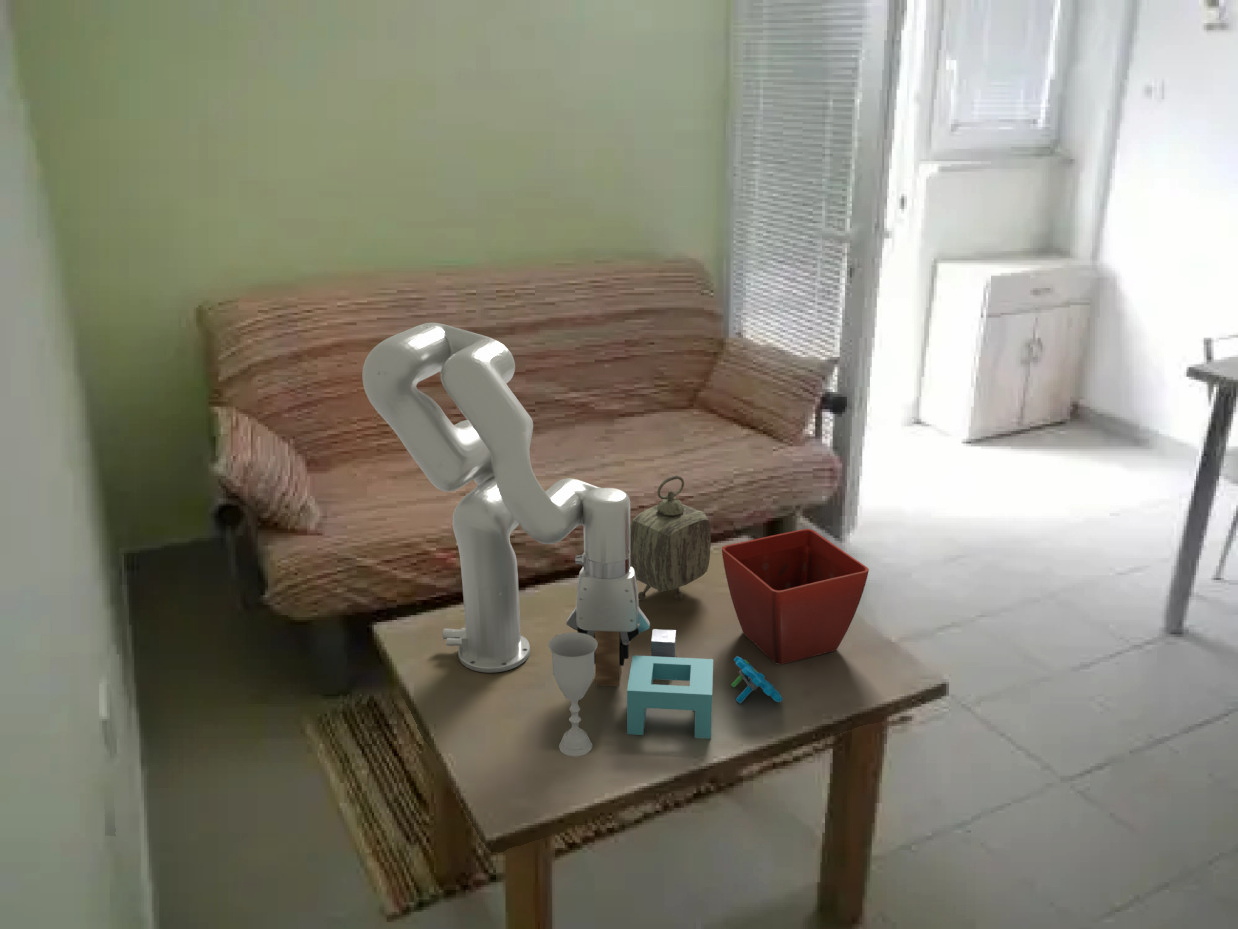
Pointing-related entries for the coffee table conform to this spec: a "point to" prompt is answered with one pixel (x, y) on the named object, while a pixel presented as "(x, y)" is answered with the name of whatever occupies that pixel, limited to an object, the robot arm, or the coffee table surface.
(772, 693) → the gear
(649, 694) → the bridge block
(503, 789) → the coffee table surface
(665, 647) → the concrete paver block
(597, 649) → the walnut pin
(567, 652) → the chalice
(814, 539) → the plant pot
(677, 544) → the tabletop clock
